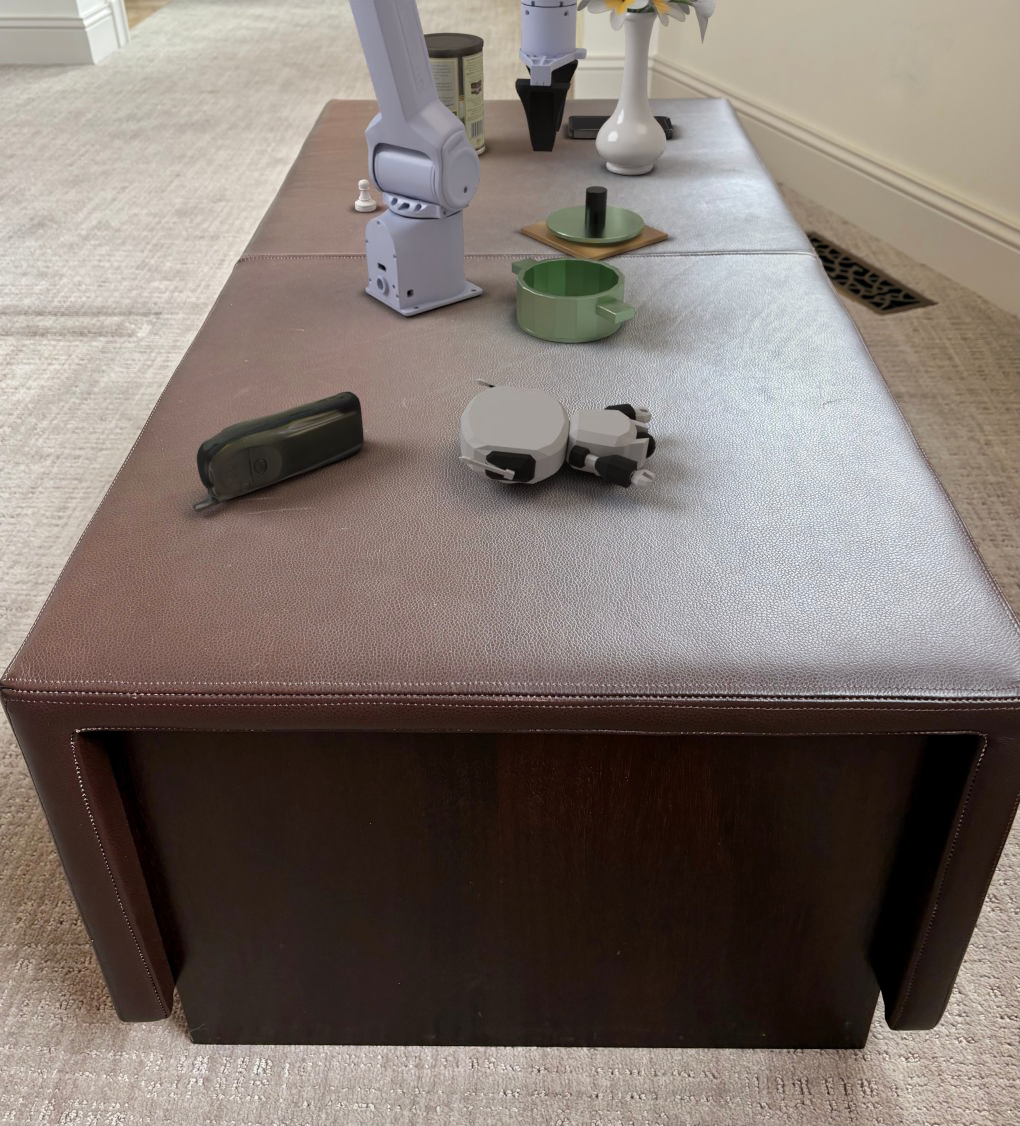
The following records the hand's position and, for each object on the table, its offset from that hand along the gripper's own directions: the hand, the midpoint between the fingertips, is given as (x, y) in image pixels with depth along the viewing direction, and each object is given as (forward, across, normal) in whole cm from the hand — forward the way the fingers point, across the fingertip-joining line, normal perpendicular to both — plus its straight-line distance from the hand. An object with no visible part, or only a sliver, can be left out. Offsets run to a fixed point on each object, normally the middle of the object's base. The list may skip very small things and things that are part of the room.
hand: (546, 140), depth 117 cm
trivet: (+10, 0, -6) cm, 12 cm away
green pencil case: (+11, -54, +14) cm, 57 cm away
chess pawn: (+11, +6, +23) cm, 26 cm away
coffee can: (+11, +31, +17) cm, 37 cm away
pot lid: (+9, 0, -6) cm, 11 cm away
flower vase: (+11, +26, -9) cm, 30 cm away
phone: (+10, +43, -6) cm, 45 cm away
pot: (+10, -23, -5) cm, 26 cm away
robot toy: (+11, -50, -6) cm, 52 cm away
